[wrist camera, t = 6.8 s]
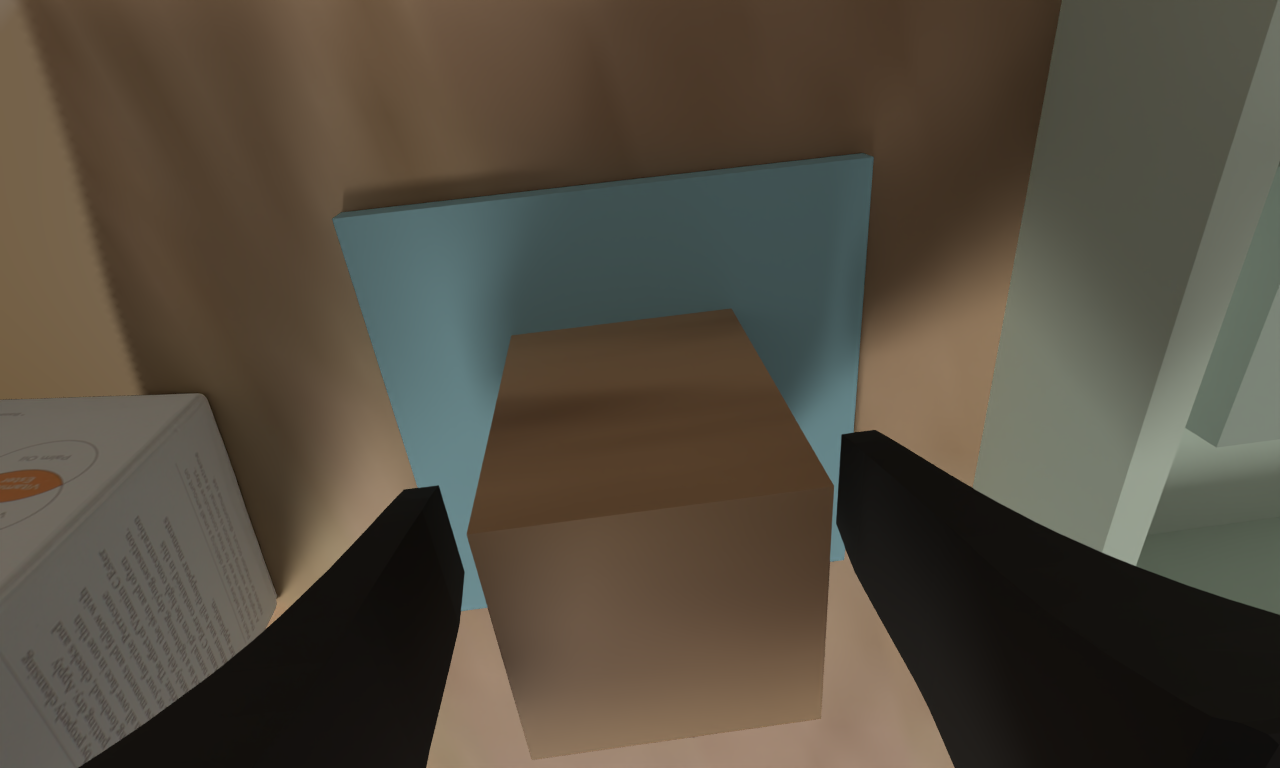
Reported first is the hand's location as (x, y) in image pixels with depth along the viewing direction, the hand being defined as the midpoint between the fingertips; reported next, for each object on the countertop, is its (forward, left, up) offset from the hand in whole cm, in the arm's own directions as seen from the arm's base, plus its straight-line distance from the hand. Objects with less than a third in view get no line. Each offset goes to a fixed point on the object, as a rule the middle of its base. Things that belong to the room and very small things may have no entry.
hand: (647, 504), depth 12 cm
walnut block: (0, 0, -3) cm, 3 cm away
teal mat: (0, 0, -3) cm, 3 cm away
